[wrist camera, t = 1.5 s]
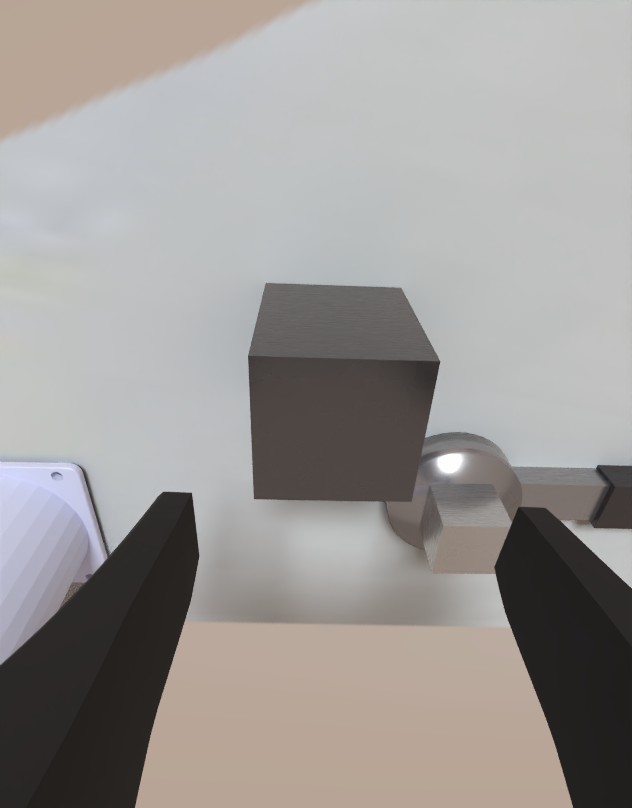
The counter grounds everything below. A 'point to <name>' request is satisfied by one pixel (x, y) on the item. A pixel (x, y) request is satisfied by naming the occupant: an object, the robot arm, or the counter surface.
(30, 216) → the counter surface
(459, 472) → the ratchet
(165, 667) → the robot arm
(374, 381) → the brushed dark grey cube
